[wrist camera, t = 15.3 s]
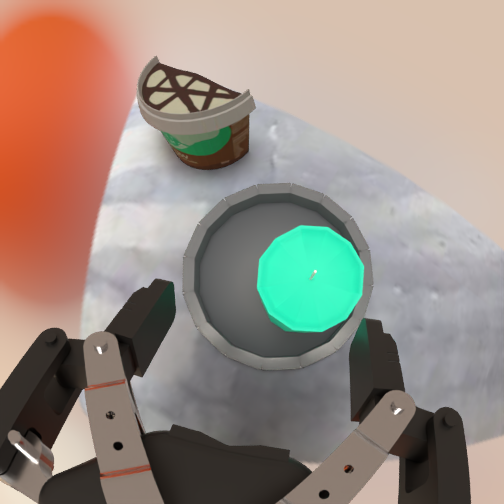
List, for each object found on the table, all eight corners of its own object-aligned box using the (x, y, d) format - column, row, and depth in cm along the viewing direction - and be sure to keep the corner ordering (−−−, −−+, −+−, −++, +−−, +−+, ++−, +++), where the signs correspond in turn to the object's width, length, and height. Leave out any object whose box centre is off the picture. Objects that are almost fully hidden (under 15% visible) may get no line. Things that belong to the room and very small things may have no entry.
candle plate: (314, 174, 30) (318, 159, 28) (390, 317, 26) (401, 315, 23) (168, 237, 30) (158, 227, 27) (232, 393, 25) (227, 399, 23)
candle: (323, 259, 27) (356, 206, 16) (336, 325, 26) (384, 318, 14) (257, 271, 27) (245, 224, 16) (268, 338, 26) (265, 343, 14)
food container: (142, 149, 33) (106, 94, 23) (176, 114, 34) (152, 54, 24) (223, 201, 30) (203, 143, 21) (260, 157, 31) (254, 91, 22)
